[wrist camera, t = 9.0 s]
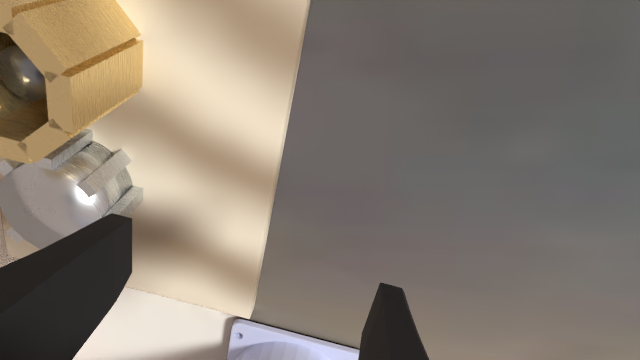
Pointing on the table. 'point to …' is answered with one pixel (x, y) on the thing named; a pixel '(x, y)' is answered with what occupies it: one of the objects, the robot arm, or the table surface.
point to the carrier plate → (204, 144)
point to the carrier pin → (21, 74)
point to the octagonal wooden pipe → (66, 70)
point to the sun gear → (66, 190)
